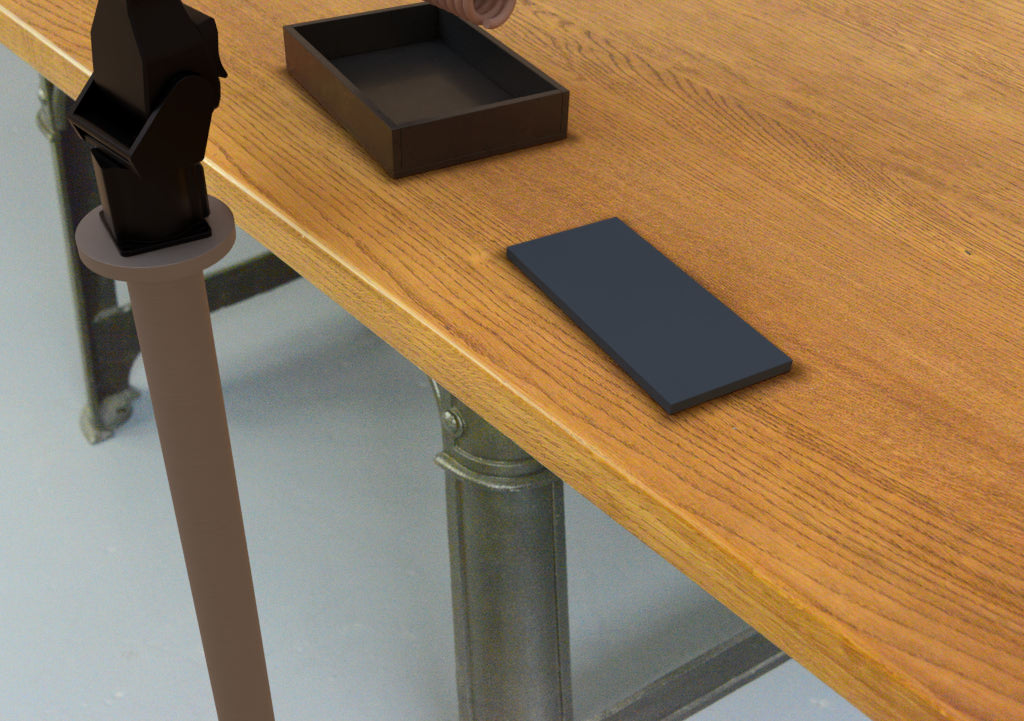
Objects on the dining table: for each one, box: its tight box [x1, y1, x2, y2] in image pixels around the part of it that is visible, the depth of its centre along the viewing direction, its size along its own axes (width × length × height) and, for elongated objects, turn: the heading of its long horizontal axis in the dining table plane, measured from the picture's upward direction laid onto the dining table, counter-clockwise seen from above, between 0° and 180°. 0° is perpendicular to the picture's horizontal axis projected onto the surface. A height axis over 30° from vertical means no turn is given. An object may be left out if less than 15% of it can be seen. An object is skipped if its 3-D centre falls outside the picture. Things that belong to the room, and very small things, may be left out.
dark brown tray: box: [282, 1, 571, 180], centre depth 96 cm, size 15×22×4 cm
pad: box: [505, 216, 794, 416], centre depth 74 cm, size 9×19×1 cm, turn 30°
